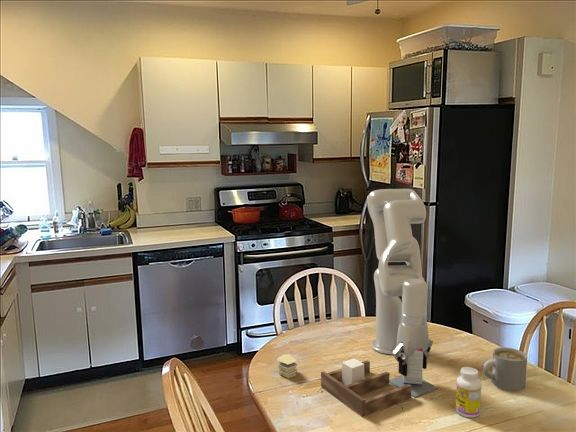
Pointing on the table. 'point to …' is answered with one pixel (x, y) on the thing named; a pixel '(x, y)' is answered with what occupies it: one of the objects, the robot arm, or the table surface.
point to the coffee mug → (507, 369)
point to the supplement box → (414, 369)
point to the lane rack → (364, 391)
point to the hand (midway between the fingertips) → (412, 370)
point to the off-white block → (352, 371)
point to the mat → (414, 386)
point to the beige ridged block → (287, 365)
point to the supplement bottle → (468, 393)
